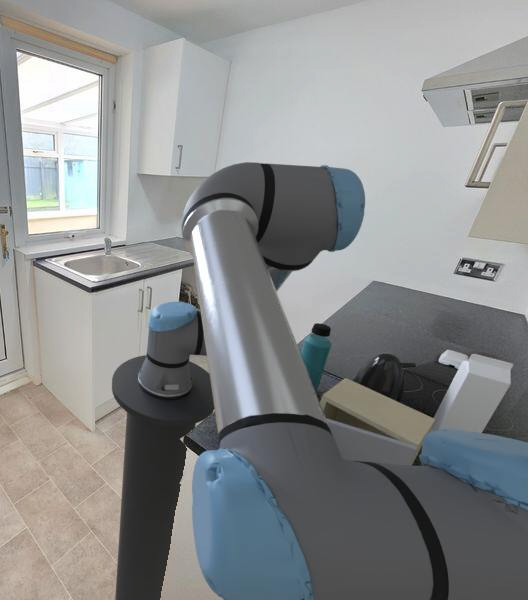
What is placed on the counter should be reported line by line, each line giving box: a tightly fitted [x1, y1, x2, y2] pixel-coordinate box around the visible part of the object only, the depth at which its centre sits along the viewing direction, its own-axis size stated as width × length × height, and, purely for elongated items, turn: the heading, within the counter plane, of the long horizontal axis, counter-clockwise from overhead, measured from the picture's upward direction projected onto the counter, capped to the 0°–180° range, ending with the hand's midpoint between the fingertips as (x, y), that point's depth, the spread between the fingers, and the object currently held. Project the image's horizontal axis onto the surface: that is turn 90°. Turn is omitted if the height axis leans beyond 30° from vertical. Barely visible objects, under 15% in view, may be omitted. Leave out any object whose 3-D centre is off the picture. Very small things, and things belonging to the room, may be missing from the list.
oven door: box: [326, 418, 417, 465], centre depth 53 cm, size 7×15×14 cm, turn 64°
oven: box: [319, 377, 436, 466], centre depth 62 cm, size 11×15×14 cm
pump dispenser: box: [352, 352, 417, 403], centre depth 80 cm, size 10×10×15 cm
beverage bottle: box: [300, 322, 332, 392], centre depth 83 cm, size 6×7×20 cm
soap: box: [438, 349, 469, 370], centre depth 104 cm, size 9×7×3 cm
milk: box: [429, 353, 514, 433], centre depth 67 cm, size 6×6×22 cm
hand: (324, 479), depth 47 cm, fingers open, 13 cm apart
